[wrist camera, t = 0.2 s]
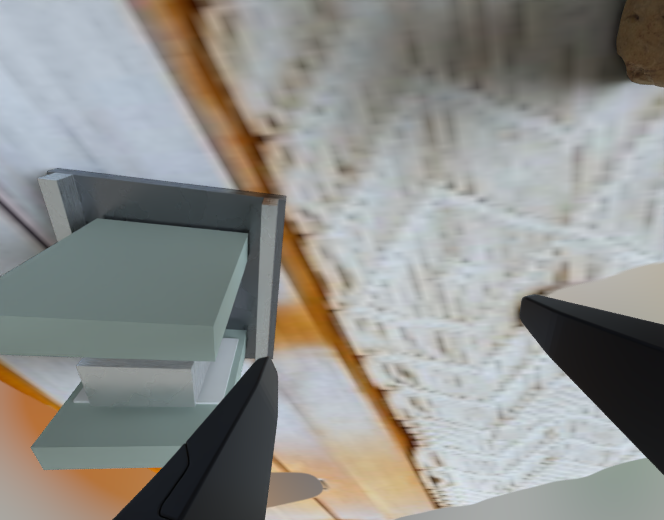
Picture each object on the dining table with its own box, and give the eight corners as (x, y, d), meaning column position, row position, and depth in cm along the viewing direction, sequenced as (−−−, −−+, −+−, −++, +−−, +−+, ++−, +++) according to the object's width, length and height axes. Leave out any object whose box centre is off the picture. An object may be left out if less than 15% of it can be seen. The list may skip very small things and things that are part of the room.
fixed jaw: (124, 322, 25) (29, 445, 16) (246, 328, 26) (220, 443, 18) (129, 344, 26) (43, 469, 17) (246, 348, 27) (221, 465, 19)
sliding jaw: (97, 218, 20) (-60, 312, 11) (248, 233, 21) (213, 326, 13) (105, 250, 21) (-32, 358, 12) (247, 262, 23) (215, 366, 14)
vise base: (58, 168, 19) (27, 177, 17) (286, 195, 22) (284, 207, 20) (107, 344, 27) (91, 366, 25) (273, 351, 29) (271, 371, 27)
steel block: (143, 284, 23) (75, 366, 16) (222, 290, 24) (190, 369, 17) (149, 319, 25) (90, 406, 18) (223, 323, 26) (195, 407, 19)
